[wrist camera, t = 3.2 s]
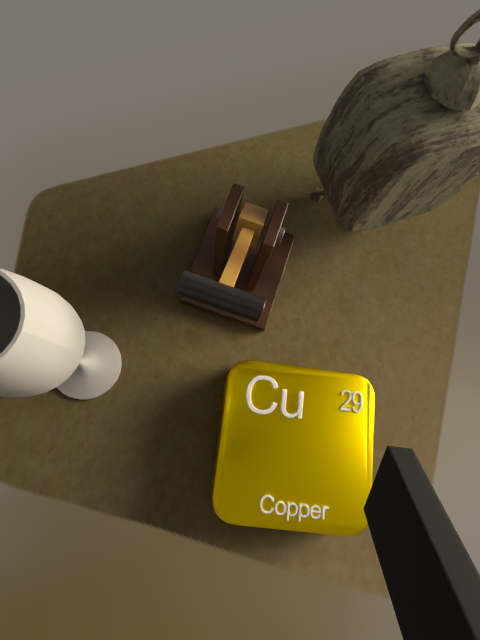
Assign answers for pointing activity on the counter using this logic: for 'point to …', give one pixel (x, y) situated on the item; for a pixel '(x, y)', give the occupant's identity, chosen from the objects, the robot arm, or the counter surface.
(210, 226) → the wooden lever stand
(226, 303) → the lever
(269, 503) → the element tile
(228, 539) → the counter surface
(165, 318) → the counter surface
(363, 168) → the tabletop clock
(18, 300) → the wineglass
